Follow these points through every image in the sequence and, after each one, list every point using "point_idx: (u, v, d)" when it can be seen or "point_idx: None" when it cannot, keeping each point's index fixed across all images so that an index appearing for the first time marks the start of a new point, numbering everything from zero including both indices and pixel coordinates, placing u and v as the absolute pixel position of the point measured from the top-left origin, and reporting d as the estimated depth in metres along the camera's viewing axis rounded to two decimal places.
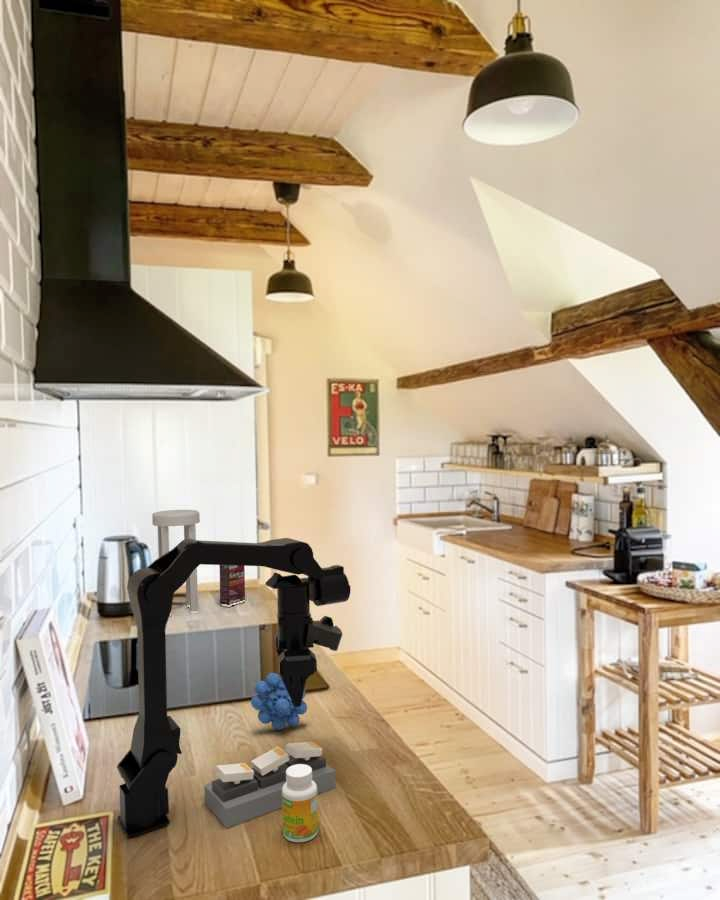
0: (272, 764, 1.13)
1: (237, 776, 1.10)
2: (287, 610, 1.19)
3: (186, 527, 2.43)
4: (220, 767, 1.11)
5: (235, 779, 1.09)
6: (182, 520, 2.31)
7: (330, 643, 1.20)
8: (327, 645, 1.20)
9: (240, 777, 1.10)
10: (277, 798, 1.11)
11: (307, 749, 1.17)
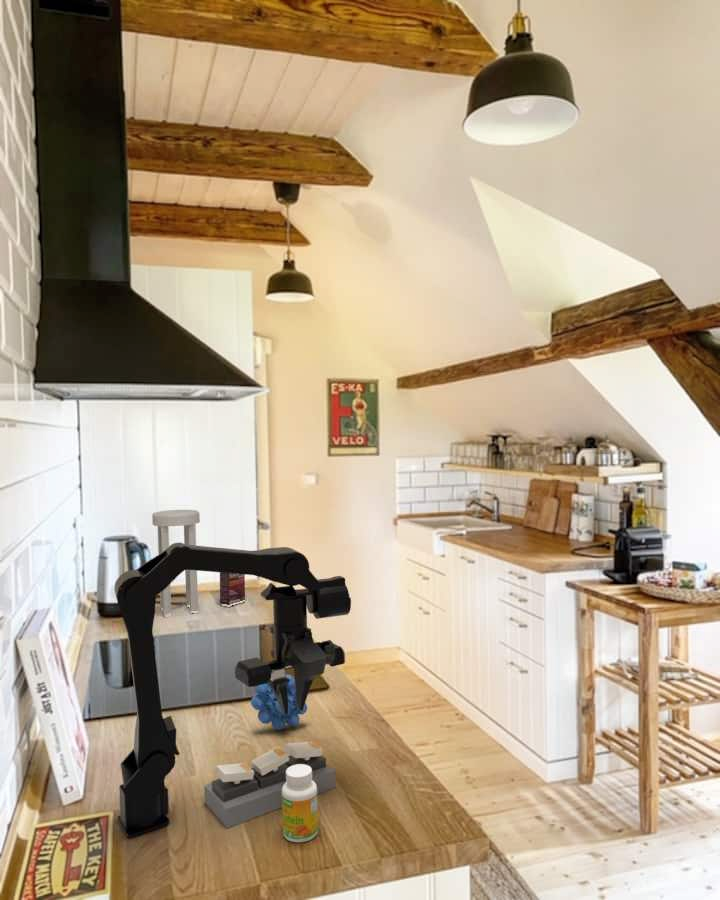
0: (272, 764, 1.13)
1: (237, 776, 1.10)
2: (281, 622, 1.14)
3: (186, 527, 2.43)
4: (220, 767, 1.11)
5: (235, 779, 1.09)
6: (182, 520, 2.31)
7: (296, 667, 1.11)
8: (295, 669, 1.11)
9: (240, 777, 1.10)
10: (277, 798, 1.11)
11: (307, 749, 1.17)
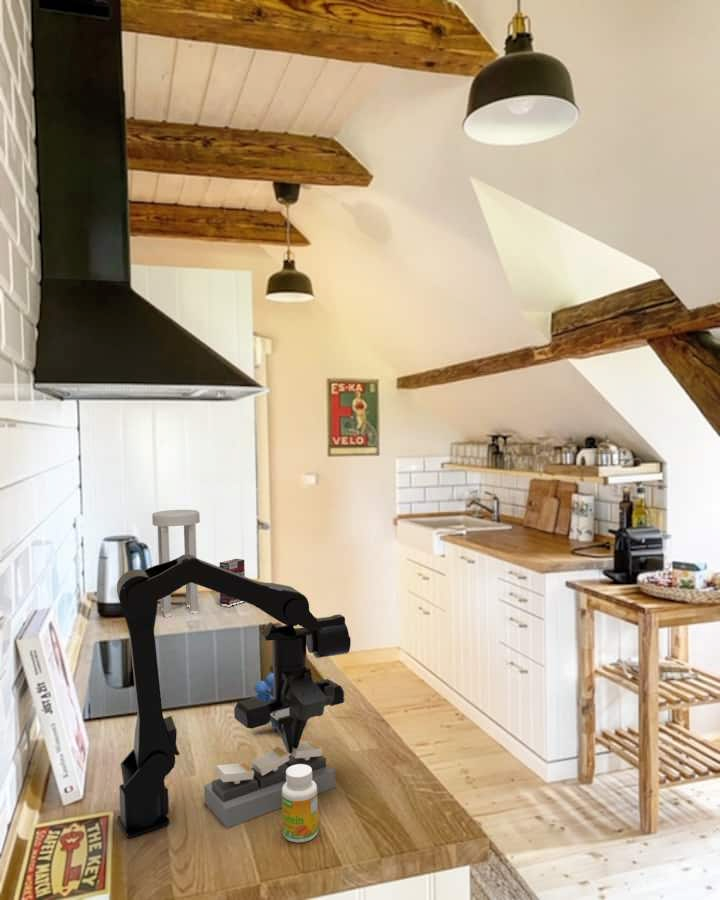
0: (272, 764, 1.13)
1: (237, 776, 1.10)
2: (281, 663, 1.14)
3: (186, 527, 2.43)
4: (220, 767, 1.11)
5: (235, 779, 1.09)
6: (182, 520, 2.31)
7: (296, 709, 1.11)
8: (294, 710, 1.11)
9: (240, 777, 1.10)
10: (277, 798, 1.11)
11: (307, 749, 1.17)
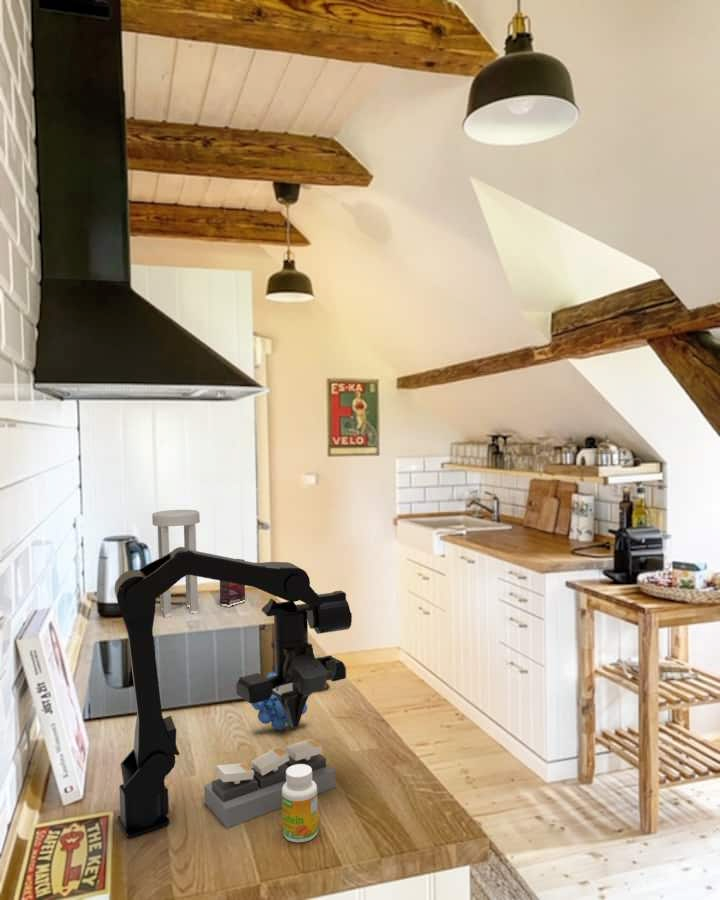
0: (272, 764, 1.13)
1: (237, 776, 1.10)
2: (282, 638, 1.14)
3: (186, 527, 2.43)
4: (220, 767, 1.11)
5: (235, 779, 1.09)
6: (182, 520, 2.31)
7: (297, 684, 1.11)
8: (296, 685, 1.11)
9: (240, 777, 1.10)
10: (277, 798, 1.11)
11: (306, 750, 1.17)
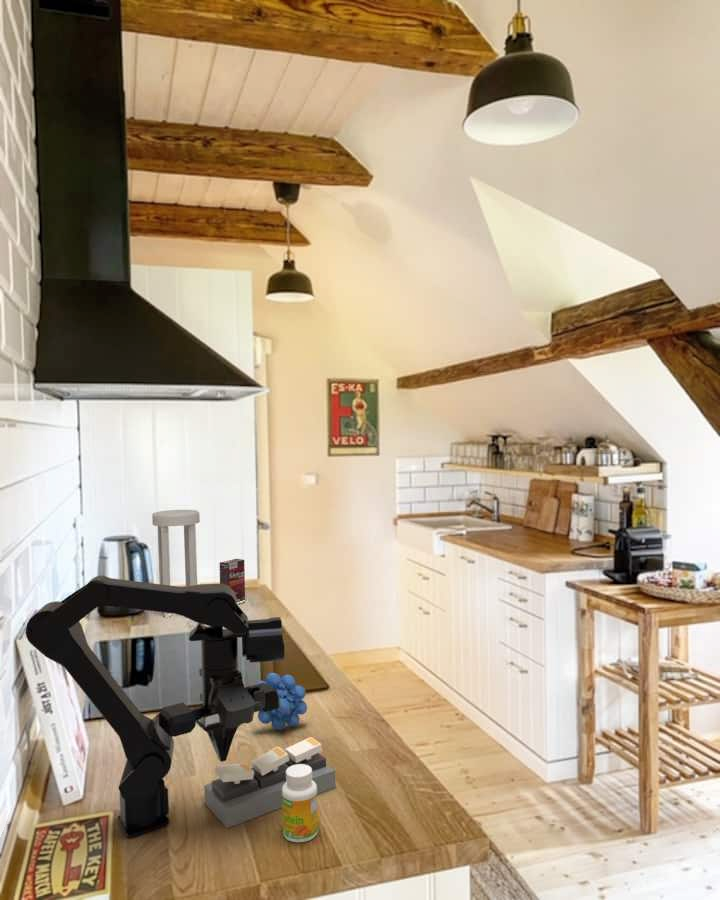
0: (272, 764, 1.13)
1: (237, 776, 1.10)
2: (206, 665, 1.07)
3: (186, 527, 2.43)
4: (220, 767, 1.11)
5: (235, 779, 1.09)
6: (182, 520, 2.31)
7: (222, 716, 1.03)
8: (220, 717, 1.04)
9: (240, 777, 1.10)
10: (277, 798, 1.11)
11: (306, 750, 1.17)
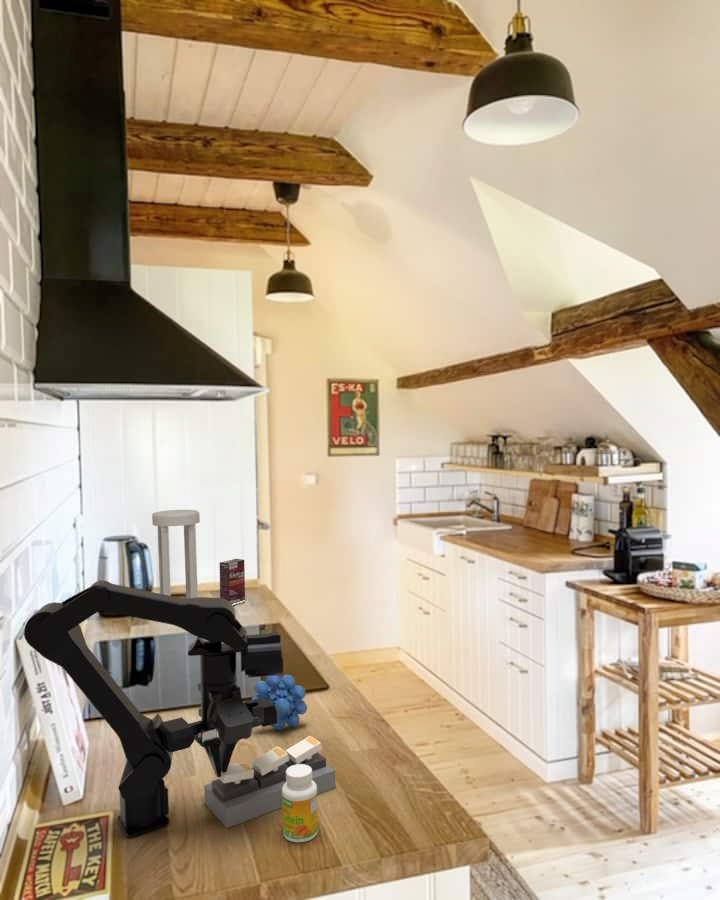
0: (272, 764, 1.13)
1: (237, 776, 1.10)
2: (204, 680, 1.07)
3: (186, 527, 2.43)
4: None
5: (235, 779, 1.09)
6: (182, 520, 2.31)
7: (220, 731, 1.03)
8: (219, 732, 1.04)
9: (240, 777, 1.10)
10: (277, 798, 1.11)
11: (306, 751, 1.17)
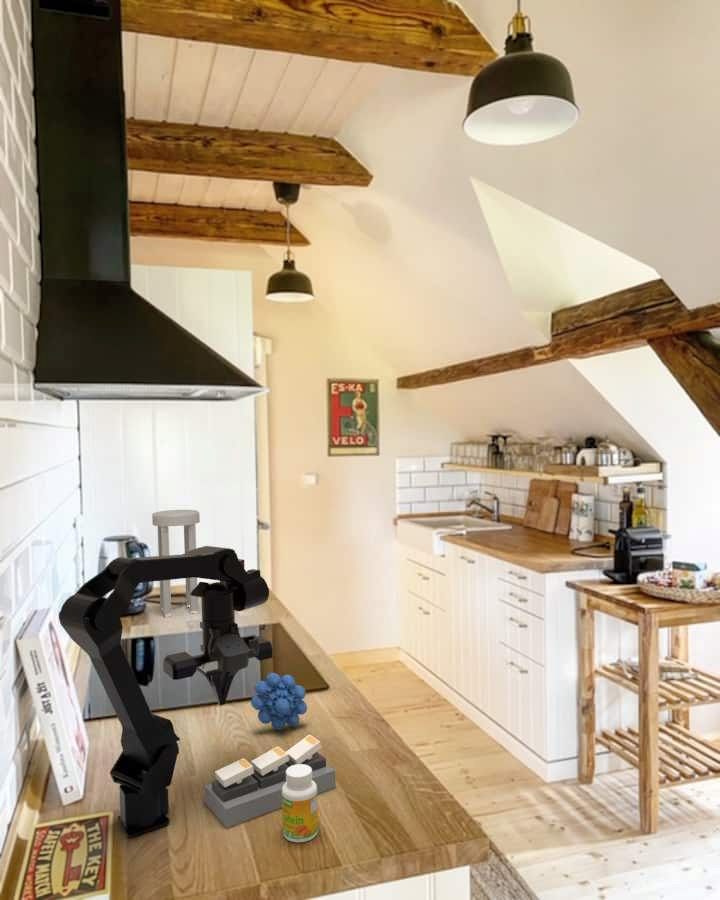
0: (272, 764, 1.13)
1: (237, 777, 1.10)
2: (216, 618, 1.18)
3: (186, 527, 2.43)
4: (219, 772, 1.11)
5: (236, 780, 1.09)
6: (182, 520, 2.31)
7: (220, 661, 1.15)
8: (219, 662, 1.15)
9: (240, 776, 1.10)
10: (277, 798, 1.11)
11: (305, 751, 1.17)
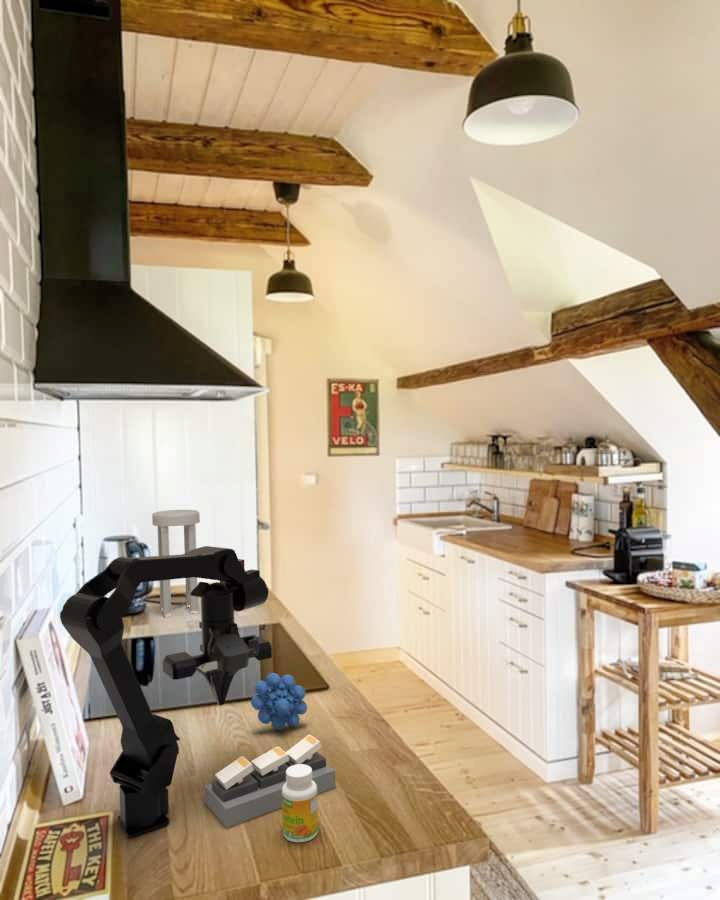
0: (272, 764, 1.13)
1: (237, 777, 1.10)
2: (216, 618, 1.18)
3: (186, 527, 2.43)
4: (219, 774, 1.11)
5: (236, 780, 1.10)
6: (182, 520, 2.31)
7: (220, 661, 1.15)
8: (218, 662, 1.15)
9: (240, 776, 1.10)
10: (277, 798, 1.11)
11: (305, 751, 1.17)
